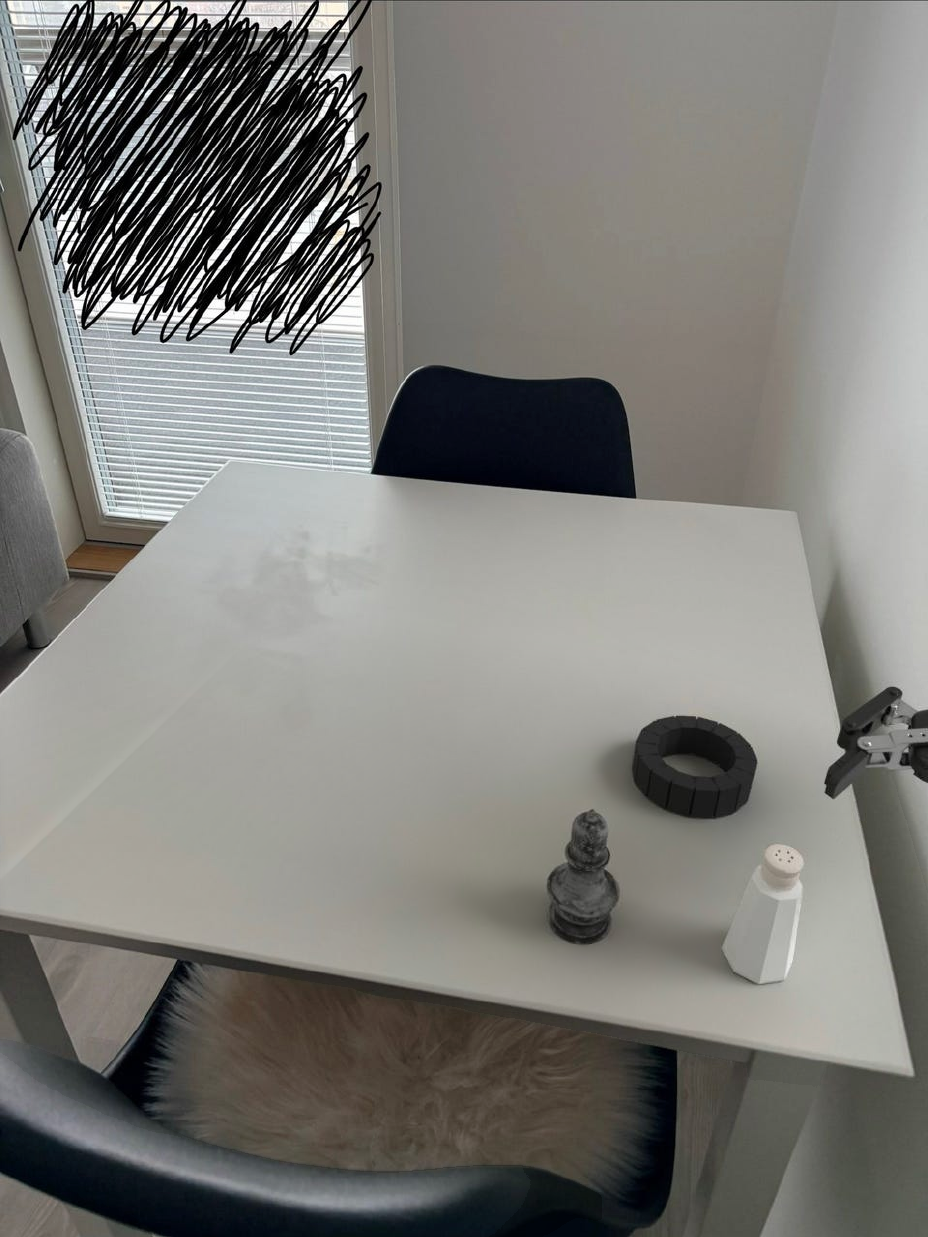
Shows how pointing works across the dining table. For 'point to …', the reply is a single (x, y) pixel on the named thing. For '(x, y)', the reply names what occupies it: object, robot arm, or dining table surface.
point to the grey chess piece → (583, 884)
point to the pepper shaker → (767, 918)
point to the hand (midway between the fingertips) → (882, 829)
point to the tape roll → (687, 790)
